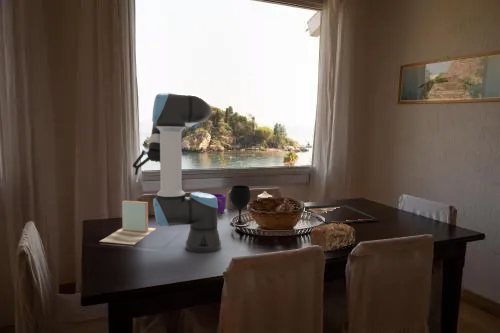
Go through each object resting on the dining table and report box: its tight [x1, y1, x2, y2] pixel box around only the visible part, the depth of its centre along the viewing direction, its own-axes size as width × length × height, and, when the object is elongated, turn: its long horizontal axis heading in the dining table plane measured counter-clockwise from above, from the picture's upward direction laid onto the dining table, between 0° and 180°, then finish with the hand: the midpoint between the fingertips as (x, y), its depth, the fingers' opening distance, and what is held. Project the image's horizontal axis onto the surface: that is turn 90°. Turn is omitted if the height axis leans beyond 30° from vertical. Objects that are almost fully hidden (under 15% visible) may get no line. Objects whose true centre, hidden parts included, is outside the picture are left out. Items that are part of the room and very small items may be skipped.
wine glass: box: [229, 184, 251, 227], centre depth 199 cm, size 10×10×20 cm
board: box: [99, 227, 157, 248], centre depth 175 cm, size 24×16×1 cm, turn 171°
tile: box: [121, 200, 149, 232], centre depth 180 cm, size 2×12×14 cm, turn 81°
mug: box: [210, 193, 227, 215], centre depth 221 cm, size 17×11×10 cm, turn 22°
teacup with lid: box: [257, 191, 273, 200], centre depth 231 cm, size 12×9×12 cm
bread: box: [310, 223, 357, 252], centre depth 171 cm, size 19×11×10 cm, turn 123°
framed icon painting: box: [304, 204, 378, 224], centre depth 225 cm, size 38×35×3 cm
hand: (150, 183), depth 192 cm, fingers open, 13 cm apart
